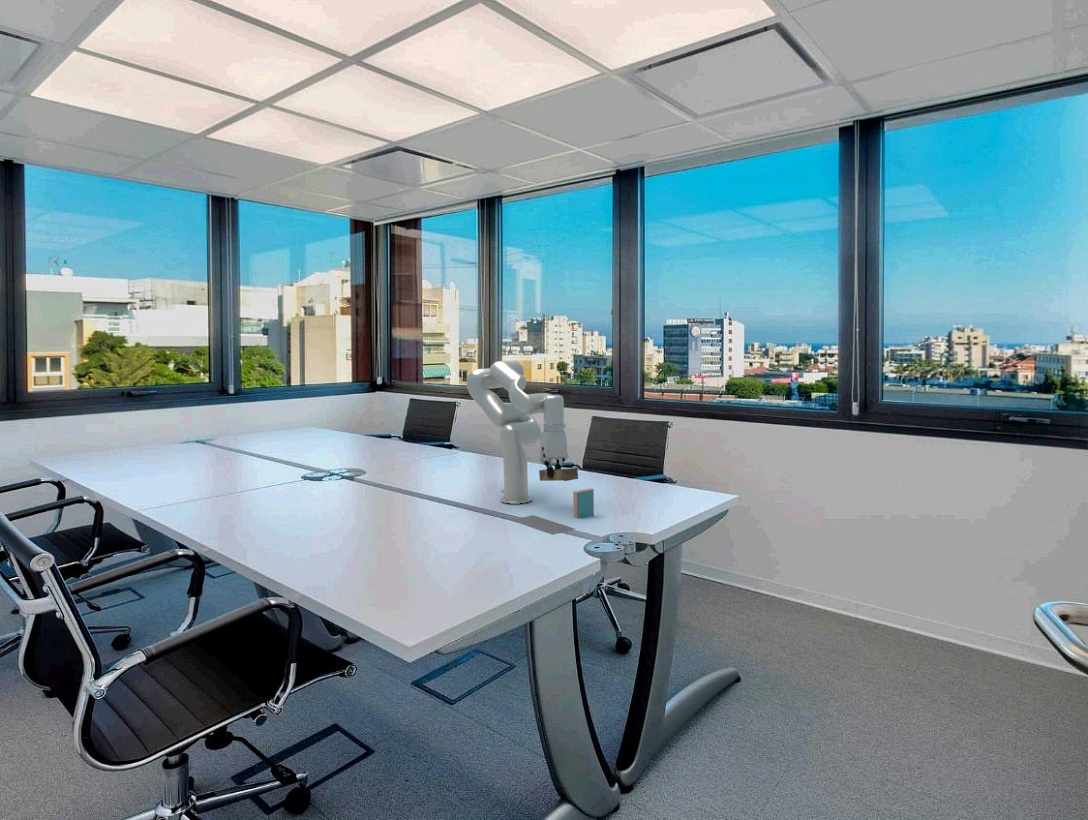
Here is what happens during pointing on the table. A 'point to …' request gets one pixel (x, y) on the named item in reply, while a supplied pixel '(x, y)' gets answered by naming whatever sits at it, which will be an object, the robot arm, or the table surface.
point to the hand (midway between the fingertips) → (554, 476)
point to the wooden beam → (559, 475)
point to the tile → (583, 503)
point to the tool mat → (543, 524)
